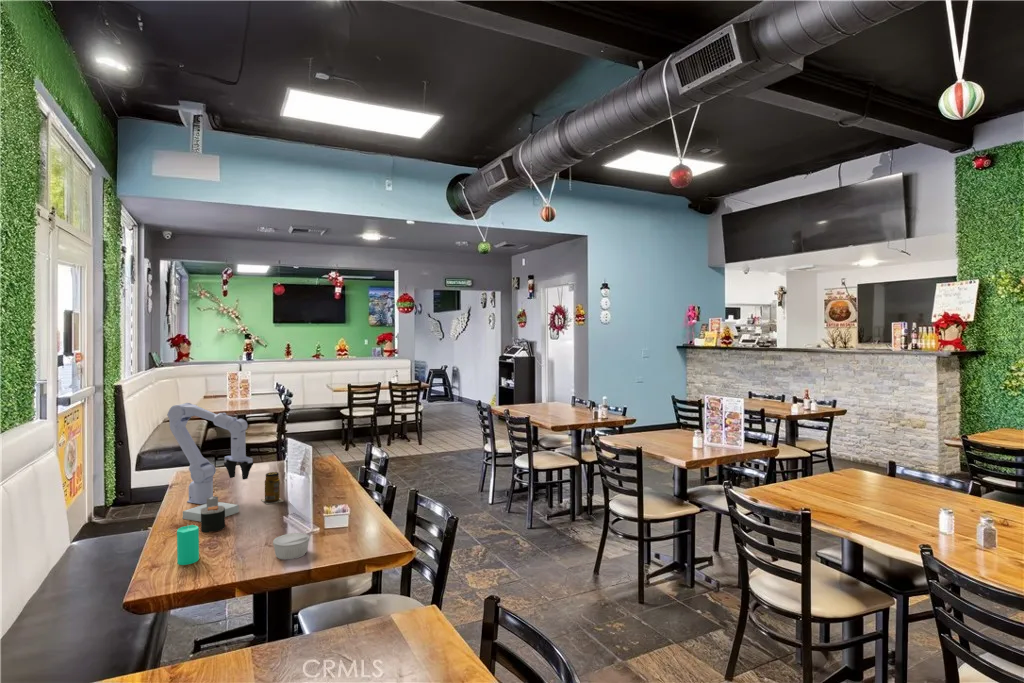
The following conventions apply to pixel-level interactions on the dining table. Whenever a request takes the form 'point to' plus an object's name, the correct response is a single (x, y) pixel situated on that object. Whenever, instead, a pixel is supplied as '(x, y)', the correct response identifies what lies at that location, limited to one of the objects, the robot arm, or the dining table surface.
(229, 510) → the socket
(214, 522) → the sushi
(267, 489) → the condiment
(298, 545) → the ramekin
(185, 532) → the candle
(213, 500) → the peg
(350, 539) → the dining table surface
